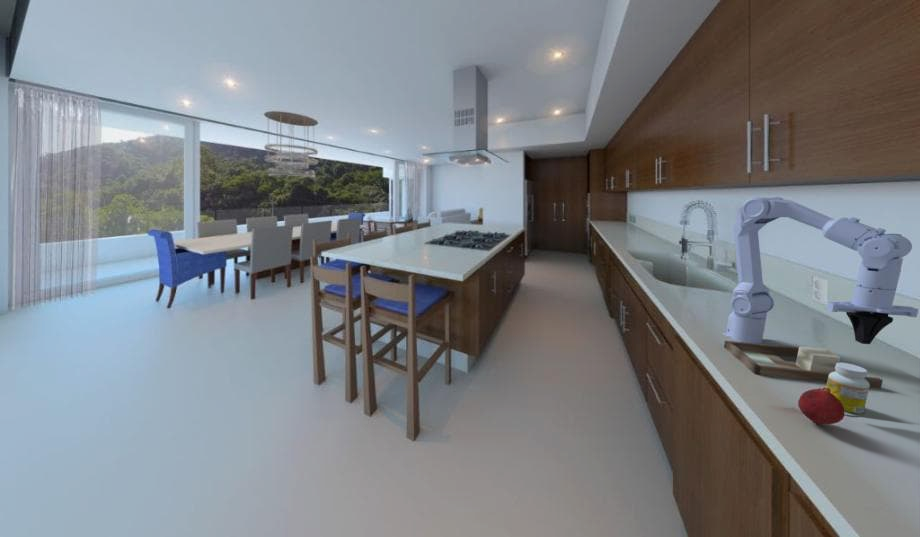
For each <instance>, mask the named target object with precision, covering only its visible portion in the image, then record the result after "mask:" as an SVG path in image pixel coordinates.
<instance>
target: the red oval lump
mask: <svg viewBox="0 0 920 537" xmlns="http://www.w3.org/2000/svg"><path fill="white" fill-rule="evenodd" d="M830 391H831V389H830V388H829V387H826V386H822V387H819V388H813V389H809V390H807V391H804V392H803V393H802V394H801V395H800V397H799V399H798V402H797V406H798V408H799V409H800V412H801V413H802V414H803V415H804V416H805V417H806V418H807V419H808V420H810V421H811V422H812V423H813V424H815V425H818V426H824V425H833V424H837V423H839V422H841V421H842V420H844V417H845V416H844V414H845V412H844V407H843V405H842V403H841V402H840V401H839V399H838V398H837V397H835V396H834V395H833V394H832V393H830Z"/></svg>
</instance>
